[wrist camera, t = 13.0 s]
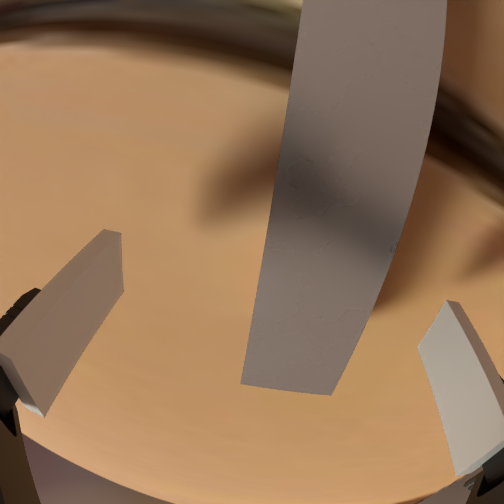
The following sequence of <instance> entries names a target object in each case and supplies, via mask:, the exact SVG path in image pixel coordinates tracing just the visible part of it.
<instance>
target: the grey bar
mask: <svg viewBox="0 0 504 504" xmlns="http://www.w3.org/2000/svg"><path fill="white" fill-rule="evenodd" d="M446 14H447V0H303V5H302V12H301V19H300V26H299V33H298V39H297V46H296V53H295V59H294V66H293V72H292V79H291V86H290V92H289V98H288V105H287V111H286V118H285V124H284V130H283V137H282V143H281V149H280V155H279V162H278V168H277V174H276V180H275V186H274V192H273V198H272V204H271V211H270V217H269V223H268V229H267V234H266V240H265V246H264V252H263V258H262V264H261V270H260V276H259V282H258V287H257V293H256V299H255V305H254V310H253V316H252V322H251V328H250V333H249V339H248V345H247V350H246V356H245V361H244V367H243V373H242V378H241V384H244V385H251V386H257V387H263V388H270V389H277V390H285V391H293V392H301V393H310V394H320V395H332V393H333V391H334V389H335V387H336V385H337V383H338V381H339V379H340V378H341V376H342V374H343V372H344V370H345V368H346V366H347V364H348V362H349V360H350V358H351V356H352V353H353V351H354V349H355V347H356V345H357V343H358V341H359V339H360V336H361V334H362V332H363V330H364V328H365V325H366V323H367V321H368V319H369V316H370V314H371V312H372V309H373V307H374V305H375V302H376V300H377V297H378V295H379V293H380V290H381V288H382V285H383V283H384V280H385V277H386V275H387V272H388V270H389V267H390V264H391V262H392V259H393V256H394V253H395V251H396V248H397V245H398V242H399V239H400V236H401V233H402V230H403V227H404V224H405V221H406V218H407V215H408V212H409V208H410V205H411V202H412V198H413V195H414V192H415V188H416V185H417V181H418V177H419V174H420V170H421V166H422V162H423V158H424V154H425V150H426V146H427V141H428V137H429V133H430V128H431V123H432V118H433V113H434V108H435V103H436V97H437V91H438V85H439V79H440V72H441V65H442V57H443V49H444V39H445V28H446Z"/></svg>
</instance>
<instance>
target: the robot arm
mask: <svg viewBox="0 0 504 504" xmlns="http://www.w3.org/2000/svg"><path fill="white" fill-rule="evenodd" d="M123 292H124V288H123V272H122V249H121V233H119V232H115V231H110V230H105V229H104V230H103V231H101V232H100V233H99V234H98V235H97V236H96V237H95V238H94V239H93V240H92V241H91V242H89V243H88V244H87V245H86V246H85V247H84V248H83V249H82V250H81V251H80V252H79V253H78V254H77V255H76V256H75V257H74V258H73V259H72V260H71V261H70V262H69V263H68V264H67V265H66V266H65V267H64V268H63V269H61V271H60V272H59V273H58V274H57V275H56V276H55V277H54V278H53V279H52V280H51V281H50V282H49V283H48V284H47V285H46V286H45V287H44V288H43V289H42V290H40V289H37V288H34V289H32V290H30V291H29V292H27V293H25V294H23V295H22V296H21V297H20V298H19V299H18V300H17V301H16V302H15V303H14V304H13V307H11V308H10V309H9V310H8V311H7V312H6V315H3V316H2V318H1V319H0V504H41V503H40V500H39V497H38V494H37V491H36V488H35V484H34V481H33V478H32V475H31V471H30V467H29V463H28V460H27V456H26V451H25V447H24V443H23V438H22V433H21V428H20V423H19V417H18V411H17V408H16V405H15V403H16V401H17V400H18V398H20V400H21V401H22V403H23V405H24V406H25V408H27V409H29V410H31V411H32V412H34V413H36V414H38V415H40V416H42V417H44V418H45V416H46V414H47V412H48V410H49V409H50V407H51V405H52V403H53V401H54V400H55V398H56V396H57V395H58V393H59V391H60V389H61V388H62V386H63V384H64V383H65V381H66V379H67V378H68V376H69V374H70V373H71V371H72V369H73V368H74V366H75V364H76V363H77V361H78V360H79V358H80V356H81V355H82V353H83V352H84V350H85V349H86V347H87V345H88V344H89V342H90V341H91V339H92V338H93V336H94V335H95V333H96V331H97V330H98V328H99V327H100V325H101V324H102V322H103V321H104V319H105V318H106V316H107V315H108V313H109V312H110V310H111V309H112V308H113V306H114V305H115V303H116V302H117V300H118V299H119V297H120V296H121V294H122V293H123ZM417 349H418V351H419V354H420V357H421V359H422V362H423V365H424V368H425V371H426V373H427V376H428V379H429V382H430V385H431V388H432V391H433V394H434V397H435V401H436V404H437V407H438V410H439V414H440V417H441V420H442V424H443V427H444V431H445V434H446V438H447V442H448V446H449V450H450V453H451V458H452V462H453V466H454V470H455V475H456V476H460V475H464V474H469V473H471V472H473V471H474V470H475V469H477V468H478V467H480V466H481V465H482V467H483V471H481V472H480V473H478V474H477V475H476V476H474V477H473V478H471V479H470V480H468V481H467V482H466V483H465V484H464V487H466V486H468V485H469V484H471V483H472V482H475V483H474V484H473V485H471V486H470V487H469V488H468V489H469V490H471V493H470V495H469V498H468V500H467V502H466V504H504V380H503V379H502V378H501V376H500V375H499V374H498V372H497V370H496V368H495V366H494V364H493V362H492V360H491V358H490V356H489V354H488V352H487V350H486V348H485V347H484V345H483V343H482V341H481V339H480V337H479V336H478V334H477V332H476V330H475V329H474V327H473V325H472V323H471V322H470V320H469V318H468V317H467V315H466V313H465V312H464V310H463V308H462V307H461V305H460V304H459V302H454V301H449V300H446V301H445V303H444V304H443V306H442V308H441V310H440V311H439V313H438V315H437V316H436V318H435V320H434V321H433V323H432V325H431V326H430V328H429V330H428V331H427V333H426V334H425V336H424V338H423V339H422V341H421V342H420V344H419V345H418V347H417Z"/></svg>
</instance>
